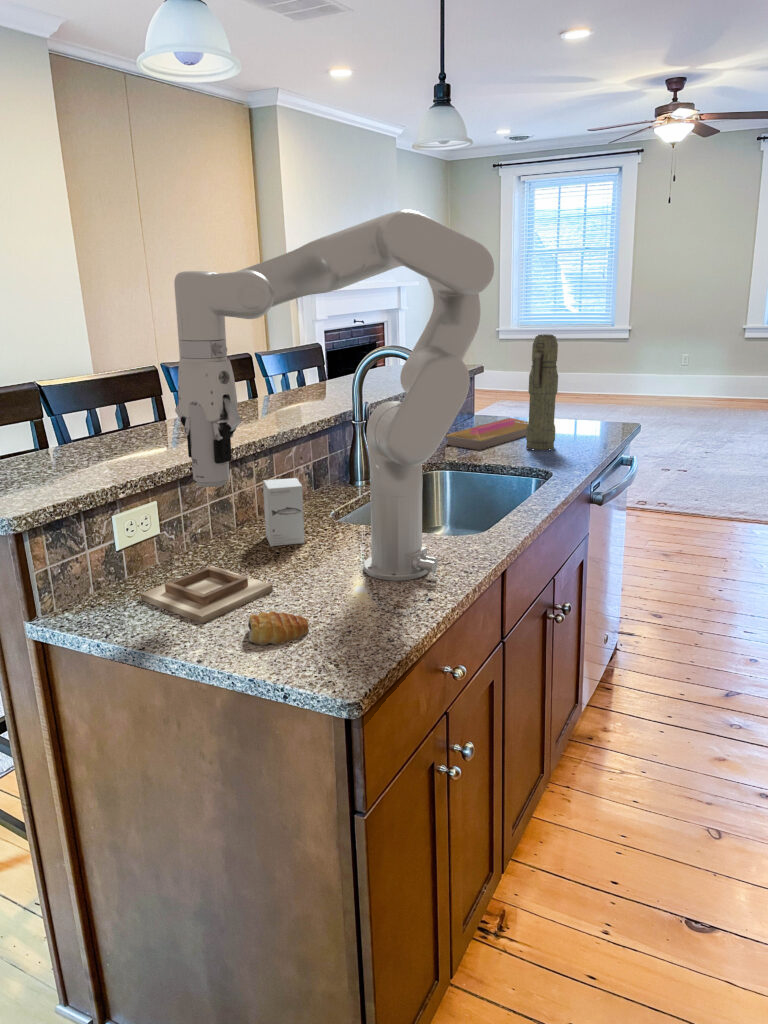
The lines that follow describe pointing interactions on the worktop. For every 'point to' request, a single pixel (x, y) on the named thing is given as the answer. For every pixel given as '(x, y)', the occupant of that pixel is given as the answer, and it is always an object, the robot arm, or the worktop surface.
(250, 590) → the board
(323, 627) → the worktop surface
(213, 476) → the energy drink can
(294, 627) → the pastry
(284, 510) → the supplement box
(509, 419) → the pink-striped tan slab
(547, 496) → the worktop surface
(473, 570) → the worktop surface
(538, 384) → the olive stone tall figure
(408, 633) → the worktop surface
